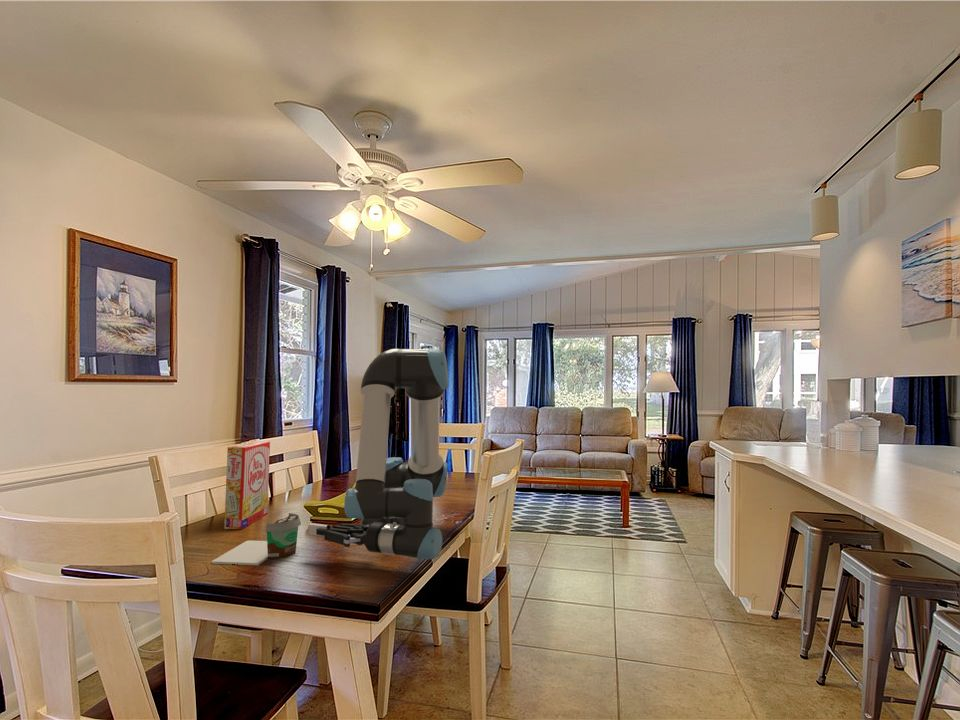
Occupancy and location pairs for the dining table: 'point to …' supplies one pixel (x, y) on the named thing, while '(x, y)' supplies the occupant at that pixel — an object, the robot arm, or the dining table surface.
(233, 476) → the board game box
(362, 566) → the dining table surface
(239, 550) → the mat
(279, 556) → the food container
